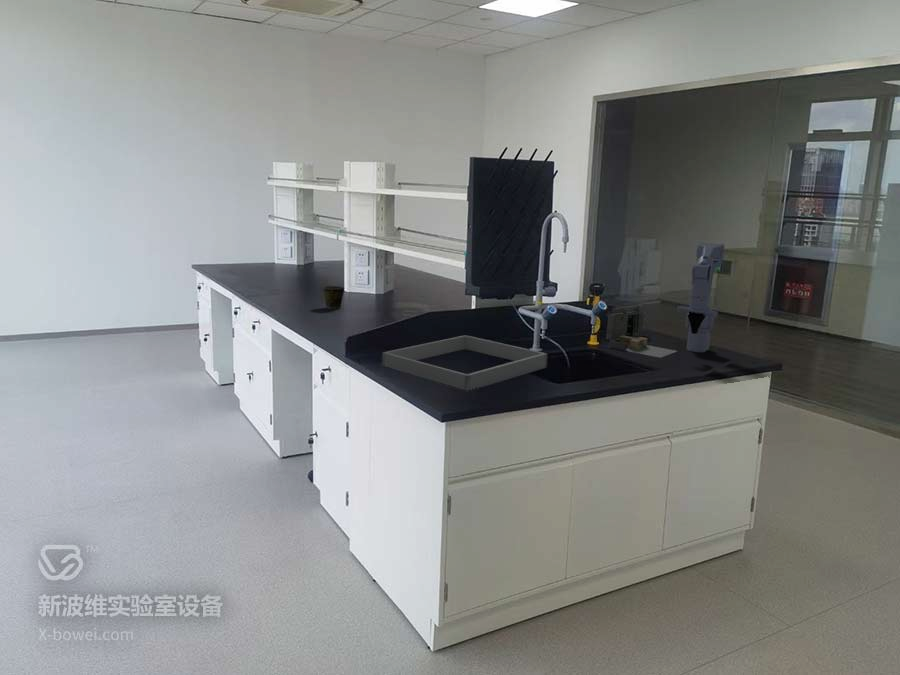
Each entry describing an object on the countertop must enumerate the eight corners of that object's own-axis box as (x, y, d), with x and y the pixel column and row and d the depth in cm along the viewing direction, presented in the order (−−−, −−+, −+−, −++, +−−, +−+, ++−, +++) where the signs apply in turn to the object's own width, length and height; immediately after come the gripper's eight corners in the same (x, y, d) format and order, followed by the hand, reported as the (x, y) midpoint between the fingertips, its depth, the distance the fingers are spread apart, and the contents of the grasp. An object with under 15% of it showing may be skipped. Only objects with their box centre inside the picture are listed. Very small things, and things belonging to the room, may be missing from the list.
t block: (626, 342, 284) (626, 334, 283) (646, 347, 278) (647, 338, 277) (615, 346, 277) (616, 337, 276) (636, 350, 271) (637, 341, 271)
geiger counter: (616, 308, 287) (654, 304, 302) (604, 305, 292) (643, 301, 307) (612, 341, 290) (651, 335, 305) (601, 338, 295) (639, 332, 310)
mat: (626, 343, 288) (626, 341, 287) (677, 353, 273) (678, 351, 273) (607, 349, 276) (607, 346, 275) (659, 360, 262) (660, 357, 261)
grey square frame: (464, 347, 268) (465, 335, 267) (546, 367, 245) (547, 353, 244) (381, 367, 236) (382, 352, 235) (466, 391, 213) (467, 375, 211)
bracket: (626, 341, 287) (627, 335, 286) (643, 344, 282) (643, 338, 282) (608, 346, 275) (608, 341, 275) (625, 350, 271) (625, 344, 270)
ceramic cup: (325, 305, 343) (325, 285, 341) (345, 306, 343) (345, 286, 341) (320, 310, 331) (320, 289, 329) (341, 311, 331) (341, 290, 329)
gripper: (675, 295, 260) (671, 331, 263) (714, 300, 251) (709, 337, 254) (683, 294, 265) (679, 329, 268) (721, 299, 256) (716, 335, 259)
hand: (694, 333), depth 261 cm, fingers closed
